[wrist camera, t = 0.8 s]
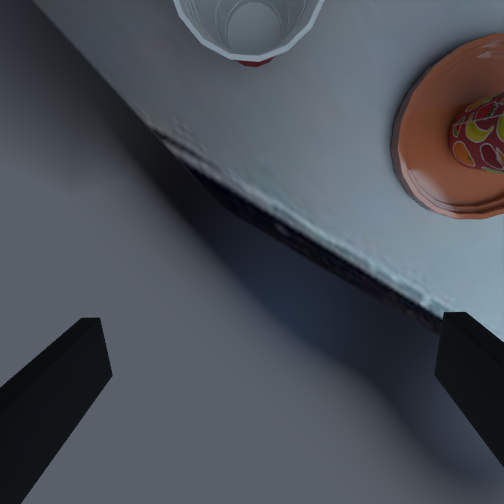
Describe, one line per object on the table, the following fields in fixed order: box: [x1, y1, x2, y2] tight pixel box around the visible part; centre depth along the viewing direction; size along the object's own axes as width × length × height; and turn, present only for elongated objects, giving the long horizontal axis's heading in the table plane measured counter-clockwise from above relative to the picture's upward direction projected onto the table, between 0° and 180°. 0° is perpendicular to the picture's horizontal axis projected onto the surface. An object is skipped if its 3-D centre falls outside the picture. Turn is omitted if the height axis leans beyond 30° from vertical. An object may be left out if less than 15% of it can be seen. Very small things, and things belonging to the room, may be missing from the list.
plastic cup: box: [173, 0, 325, 67], centre depth 25 cm, size 11×11×12 cm
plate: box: [391, 33, 504, 219], centre depth 31 cm, size 17×17×2 cm
